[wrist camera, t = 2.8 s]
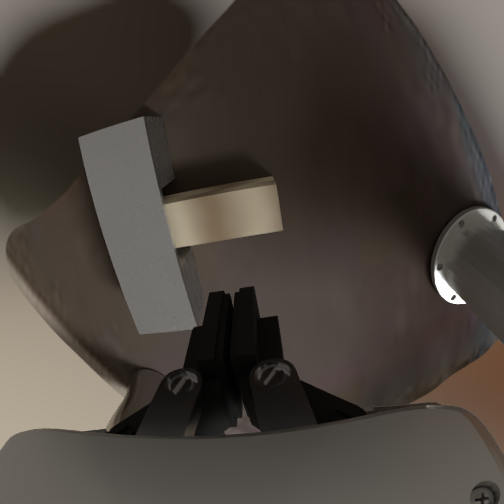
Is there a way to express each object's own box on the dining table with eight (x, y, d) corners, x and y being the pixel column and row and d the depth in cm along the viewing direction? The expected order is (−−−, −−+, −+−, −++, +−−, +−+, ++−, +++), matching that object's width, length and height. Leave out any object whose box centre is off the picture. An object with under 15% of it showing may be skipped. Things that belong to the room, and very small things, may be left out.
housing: (162, 117, 27) (143, 116, 22) (204, 297, 34) (197, 328, 29) (105, 133, 27) (78, 137, 22) (153, 304, 34) (139, 334, 29)
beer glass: (170, 367, 38) (144, 465, 24) (179, 401, 41) (161, 492, 27) (120, 363, 38) (83, 453, 24) (133, 398, 41) (106, 482, 27)
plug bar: (272, 176, 29) (276, 184, 25) (278, 216, 31) (283, 230, 27) (140, 201, 30) (126, 212, 26) (150, 238, 31) (138, 254, 28)
